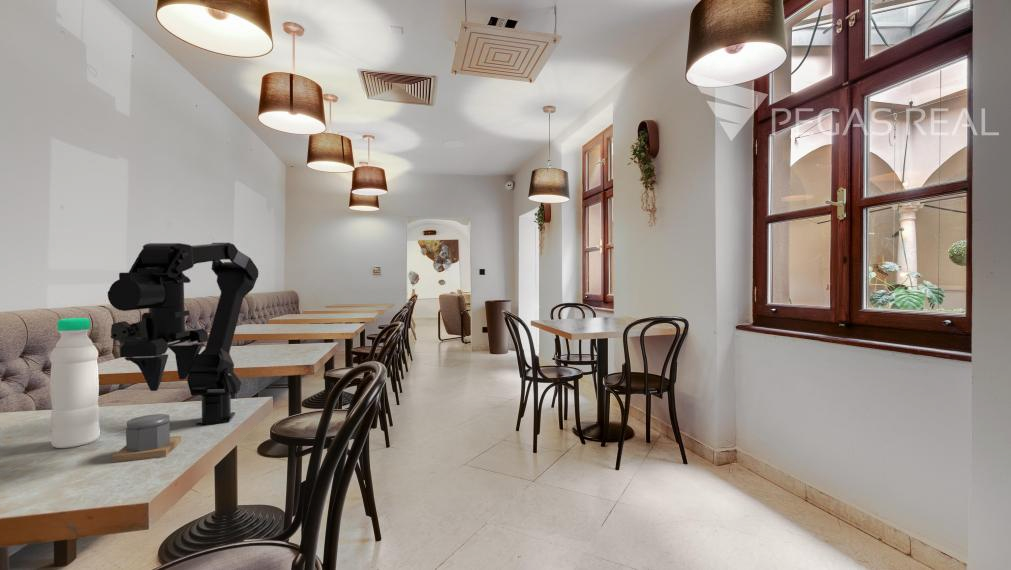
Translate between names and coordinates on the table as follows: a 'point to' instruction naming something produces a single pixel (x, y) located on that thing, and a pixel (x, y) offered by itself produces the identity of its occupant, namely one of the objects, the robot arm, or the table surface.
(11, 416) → the table surface
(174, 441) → the stud block
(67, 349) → the water bottle
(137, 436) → the cap
